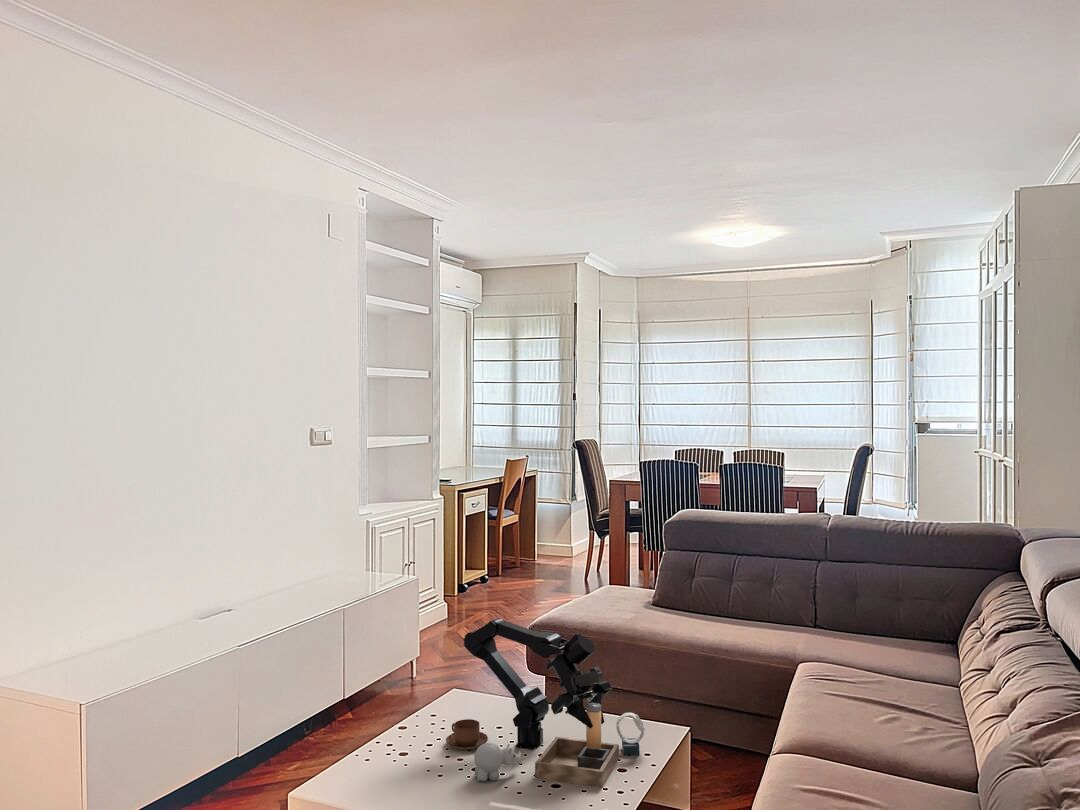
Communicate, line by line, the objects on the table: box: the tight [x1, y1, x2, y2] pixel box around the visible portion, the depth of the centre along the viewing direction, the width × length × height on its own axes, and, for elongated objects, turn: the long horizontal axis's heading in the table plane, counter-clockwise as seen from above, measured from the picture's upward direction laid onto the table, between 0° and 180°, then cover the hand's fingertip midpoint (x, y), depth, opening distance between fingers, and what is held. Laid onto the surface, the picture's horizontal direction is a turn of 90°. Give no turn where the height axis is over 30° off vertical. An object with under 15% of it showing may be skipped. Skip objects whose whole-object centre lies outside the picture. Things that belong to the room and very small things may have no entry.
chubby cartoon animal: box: [473, 742, 522, 782], centre depth 219 cm, size 8×12×9 cm, turn 103°
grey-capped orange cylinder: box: [585, 703, 602, 749], centre depth 225 cm, size 4×4×11 cm
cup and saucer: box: [445, 718, 489, 751], centre depth 240 cm, size 12×12×6 cm
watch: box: [616, 712, 646, 756], centre depth 233 cm, size 6×8×11 cm
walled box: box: [534, 736, 620, 788], centre depth 222 cm, size 18×18×4 cm
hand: (597, 725), depth 224 cm, fingers closed on grey-capped orange cylinder, 4 cm apart
